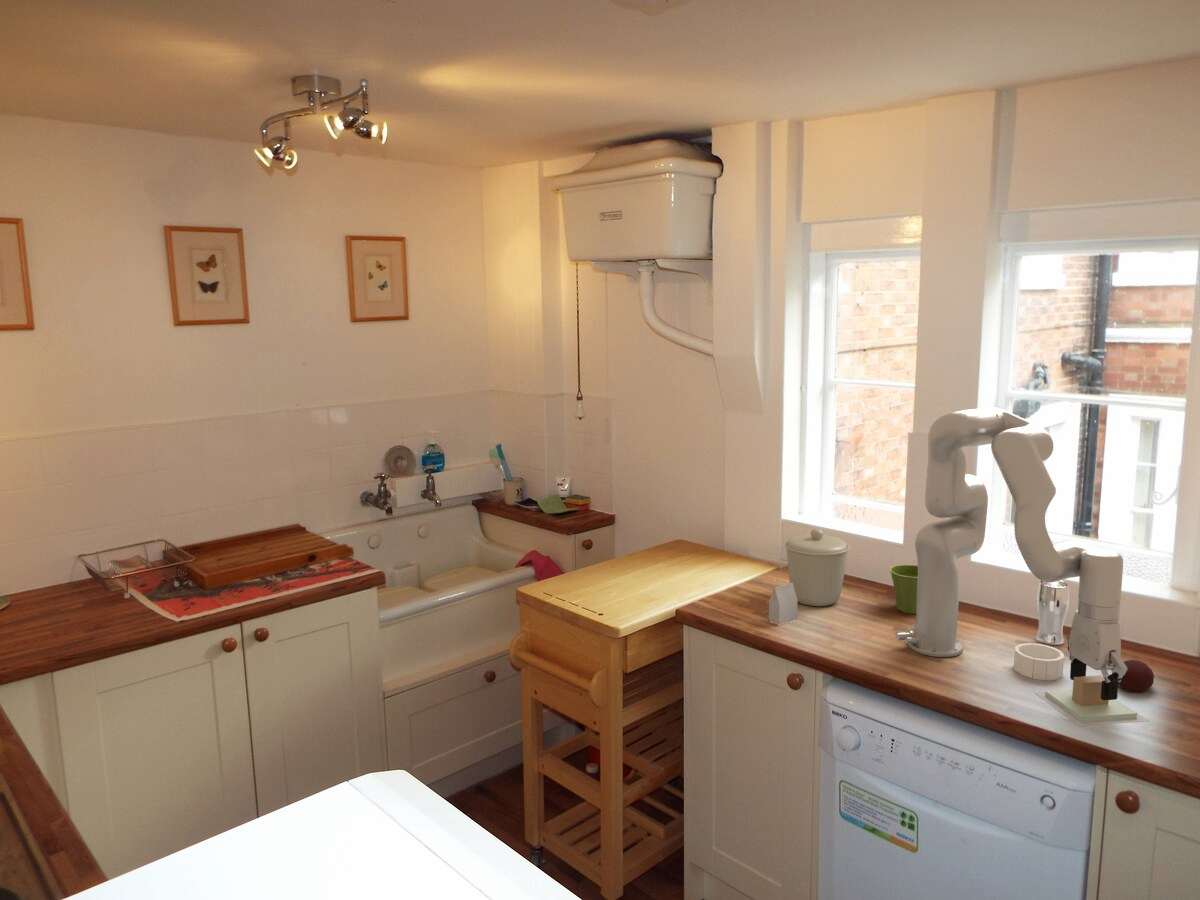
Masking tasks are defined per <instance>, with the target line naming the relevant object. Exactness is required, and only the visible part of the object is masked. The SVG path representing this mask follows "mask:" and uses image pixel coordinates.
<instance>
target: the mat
mask: <svg viewBox="0 0 1200 900" xmlns="http://www.w3.org/2000/svg"><path fill="white" fill-rule="evenodd" d="M1034 694H1035V695H1036V696H1038V697H1039V698H1040V699H1041V700H1042V701H1045V702H1046V703H1047V704H1048V705H1050V706H1051V707H1053V708H1054V709H1056V710H1057V711H1058V712H1059V713H1060V714H1062V715H1063V716H1065V717H1066V718H1068V719H1069V720H1071V722H1073V723H1074V724H1076V725H1077V726H1078V727H1084V726H1087V727H1088V726H1097V725H1098V726H1100V725H1114V724H1127V723H1139V722H1149V720H1148V719H1147V718H1145V717H1144V716H1142V715H1141V714H1140V713H1138V712H1136V713H1137V718H1127V719H1113V720H1100V721H1086V722H1081V721H1080V720H1078V719H1077V718H1075V717H1074V716H1073V715H1071V714H1070V713H1069V712H1067V711H1066V710H1064V709H1063V708H1062V707H1060V706H1059V705H1058V704H1056V703H1055V702H1053V701H1052V700H1051V699H1049V698H1048V697H1047V696H1045V691H1042V692H1034ZM1127 707H1128V708H1130V707H1129V706H1127Z"/></svg>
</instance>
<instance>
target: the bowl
mask: <svg viewBox="0 0 1200 900" xmlns="http://www.w3.org/2000/svg"><path fill="white" fill-rule="evenodd" d="M1013 656H1014V659H1013V670H1014V671H1016V672H1017V673H1019V674H1020V675H1021V676H1024V677H1028V678H1030V679H1034V680H1035V679H1036V680H1041V681H1054V680H1055V681H1056V680H1059V679H1060V678H1062V677H1063V676H1064V664H1065V654H1064V652H1063V651H1062V650H1059V649H1058V648H1056V647H1052V646H1051V645H1048V644H1043V643H1042V644H1041V643H1032V642H1027V643H1020V644H1018V645H1015V647H1014V655H1013Z"/></svg>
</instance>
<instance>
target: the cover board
mask: <svg viewBox="0 0 1200 900" xmlns="http://www.w3.org/2000/svg"><path fill="white" fill-rule="evenodd" d="M1072 681H1073V683H1072V689H1070V688H1069V689H1058V690H1057V689H1054V690H1045V691H1044V692H1045V696H1047V697H1048V698H1049V699H1051V700H1052V701H1053V702H1055V703H1056V704H1058V705H1059V706H1060V707H1062V708H1063V709H1064V710H1066V711H1067V712H1069V713H1070V714H1071V715H1073V716H1074V717H1075V718H1077V719H1078V720H1080V721H1081V722H1086V721H1100V720H1113V719H1127V718H1137V713H1138V712H1137V711H1135V710H1133V709H1132V708H1130V707H1129V706H1127V705H1125V704H1124V703H1122V702H1121V701H1120V700H1117V699H1116V700H1102V699H1101V686H1102V681H1105V680H1104V678H1103V675H1102V674H1101V675H1099V674H1098V675H1086V676H1082V677H1074V680H1072ZM1128 707H1129V708H1128Z"/></svg>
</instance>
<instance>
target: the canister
mask: <svg viewBox="0 0 1200 900" xmlns="http://www.w3.org/2000/svg"><path fill="white" fill-rule="evenodd" d="M783 546H784V548H785V549H786V559H787V560H786V561H787V570H788V579H789V583H793V586H794V590H795V593H796V596H797V603H800V604H802V605H805V606H810V607H827V606H832V605H834V604H835V603H837V602H838V601H839V599H840V597H841V594H842V589H843V583H844V579H845V571H846V570H845V569H846V564H847V557H848V553H849V551H850V550H851V546H850V544H849V543H847V542H846V541H845V540H843V539H841V538H839V537H836V536H832V535H827V534H824V531H823V529H821V528H813V529H811V531H810V533H806V534H799V535H794V536H792V537H790V538H788V539H786V540H785V541H784V543H783Z"/></svg>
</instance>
